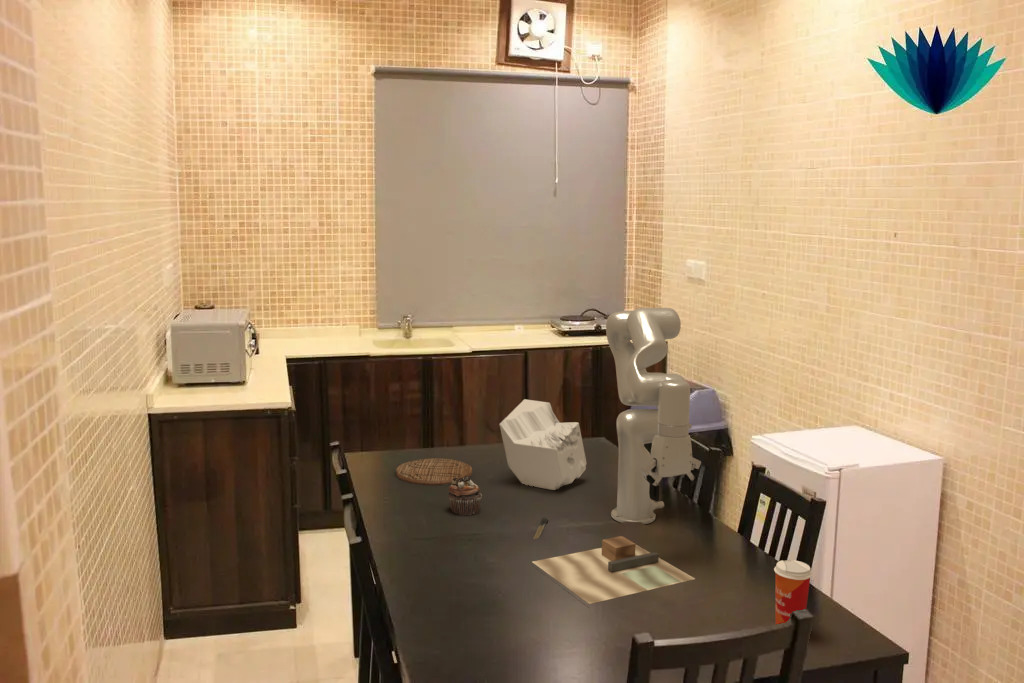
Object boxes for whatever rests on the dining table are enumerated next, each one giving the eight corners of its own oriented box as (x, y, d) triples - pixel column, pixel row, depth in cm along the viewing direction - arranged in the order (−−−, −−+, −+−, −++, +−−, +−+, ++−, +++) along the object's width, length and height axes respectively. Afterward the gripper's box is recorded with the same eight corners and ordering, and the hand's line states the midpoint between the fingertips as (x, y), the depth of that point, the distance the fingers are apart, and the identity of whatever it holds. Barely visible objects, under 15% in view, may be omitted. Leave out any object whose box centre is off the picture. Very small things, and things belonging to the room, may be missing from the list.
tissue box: (591, 472, 285) (579, 406, 275) (568, 501, 273) (555, 433, 263) (537, 462, 296) (524, 398, 285) (513, 490, 284) (499, 424, 274)
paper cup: (765, 620, 190) (768, 559, 188) (799, 619, 191) (803, 558, 189) (778, 638, 182) (783, 574, 180) (814, 637, 183) (819, 573, 181)
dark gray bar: (654, 559, 219) (655, 551, 219) (658, 561, 218) (658, 554, 218) (608, 569, 213) (608, 561, 212) (611, 572, 211) (611, 564, 211)
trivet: (469, 487, 278) (469, 481, 278) (391, 485, 279) (391, 480, 278) (474, 464, 303) (474, 459, 303) (401, 463, 303) (401, 457, 303)
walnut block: (621, 550, 225) (621, 536, 224) (635, 559, 220) (635, 544, 219) (601, 554, 222) (602, 539, 222) (615, 563, 217) (615, 548, 216)
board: (631, 545, 231) (631, 541, 231) (695, 582, 209) (695, 578, 209) (531, 565, 217) (531, 561, 217) (589, 608, 195) (589, 603, 195)
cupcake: (462, 519, 249) (462, 485, 248) (442, 510, 256) (442, 476, 255) (488, 511, 255) (489, 478, 254) (467, 503, 263) (468, 470, 261)
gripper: (691, 423, 223) (689, 488, 226) (634, 430, 216) (632, 497, 218) (710, 430, 217) (707, 497, 219) (652, 437, 209) (650, 506, 211)
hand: (670, 497), depth 218 cm, fingers open, 9 cm apart
